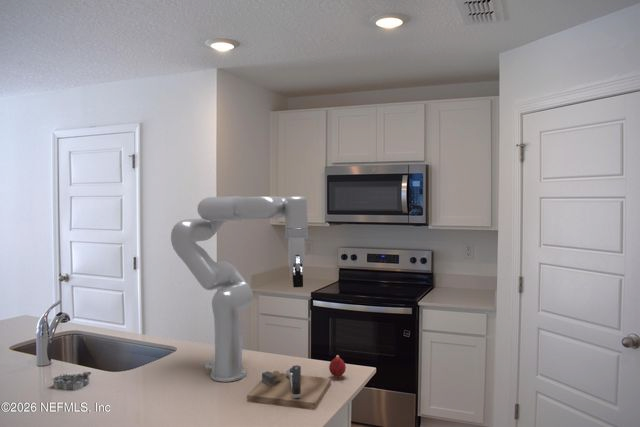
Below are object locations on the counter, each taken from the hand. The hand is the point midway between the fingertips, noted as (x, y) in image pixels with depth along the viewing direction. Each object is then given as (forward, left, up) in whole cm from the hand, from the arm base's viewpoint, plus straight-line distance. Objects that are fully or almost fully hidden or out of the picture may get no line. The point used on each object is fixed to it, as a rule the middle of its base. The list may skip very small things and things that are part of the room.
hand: (297, 284), depth 156 cm
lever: (0, -5, -32) cm, 32 cm away
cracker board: (-1, -5, -34) cm, 35 cm away
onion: (+11, +11, -35) cm, 38 cm away
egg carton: (-74, -19, -35) cm, 84 cm away
